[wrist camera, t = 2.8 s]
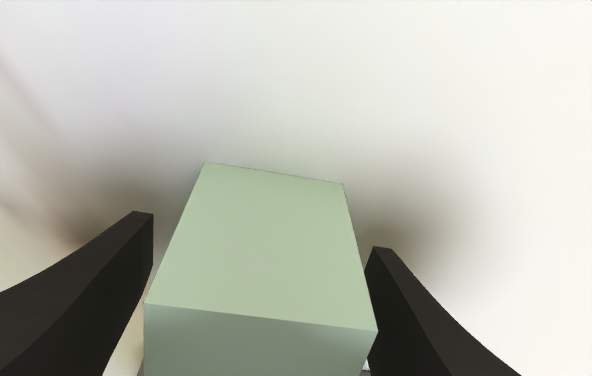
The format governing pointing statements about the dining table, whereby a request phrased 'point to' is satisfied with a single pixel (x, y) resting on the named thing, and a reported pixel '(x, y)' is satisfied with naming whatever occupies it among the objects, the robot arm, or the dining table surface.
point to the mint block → (259, 282)
